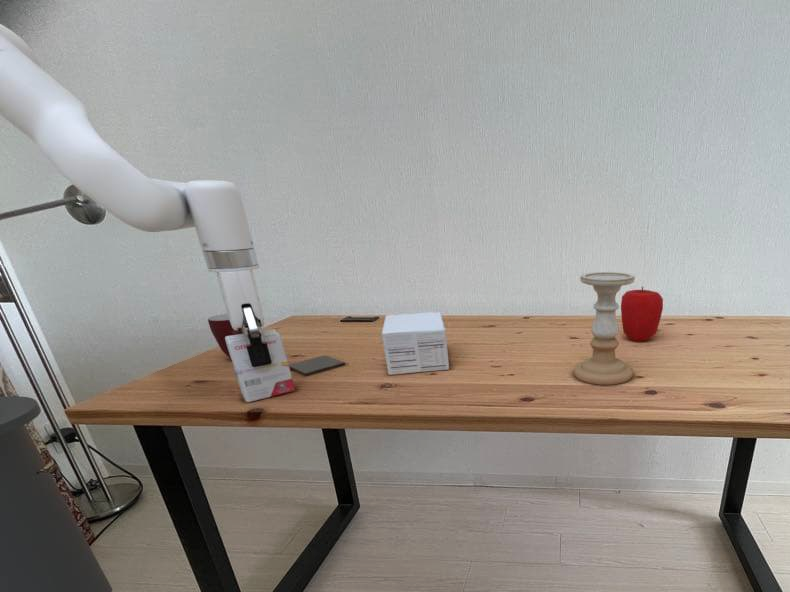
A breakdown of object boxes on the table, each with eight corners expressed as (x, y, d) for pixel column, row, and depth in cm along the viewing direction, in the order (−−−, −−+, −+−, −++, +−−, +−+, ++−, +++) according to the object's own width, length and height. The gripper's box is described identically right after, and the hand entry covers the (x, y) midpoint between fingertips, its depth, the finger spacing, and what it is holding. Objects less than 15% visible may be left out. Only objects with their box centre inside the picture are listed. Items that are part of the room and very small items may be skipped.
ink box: (290, 384, 92) (276, 327, 88) (296, 392, 89) (281, 333, 84) (241, 395, 88) (223, 335, 83) (245, 403, 84) (226, 341, 79)
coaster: (306, 375, 97) (305, 373, 97) (286, 367, 102) (286, 365, 102) (345, 364, 103) (344, 362, 103) (325, 357, 109) (324, 355, 108)
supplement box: (390, 352, 111) (385, 314, 108) (445, 348, 114) (441, 311, 110) (387, 375, 96) (380, 332, 93) (449, 369, 99) (445, 327, 96)
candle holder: (574, 385, 90) (576, 281, 82) (572, 365, 101) (574, 271, 93) (637, 385, 89) (645, 280, 81) (628, 365, 101) (635, 271, 92)
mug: (268, 359, 108) (257, 317, 104) (230, 367, 103) (216, 324, 99) (253, 350, 115) (241, 311, 110) (216, 358, 109) (203, 317, 105)
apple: (667, 340, 118) (673, 287, 112) (637, 346, 113) (641, 291, 107) (640, 331, 126) (644, 281, 120) (610, 337, 121) (613, 285, 116)
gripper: (203, 258, 82) (232, 354, 90) (208, 267, 70) (241, 378, 77) (251, 255, 86) (275, 347, 94) (263, 263, 74) (290, 369, 81)
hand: (259, 360), depth 85 cm, fingers closed on ink box, 5 cm apart
